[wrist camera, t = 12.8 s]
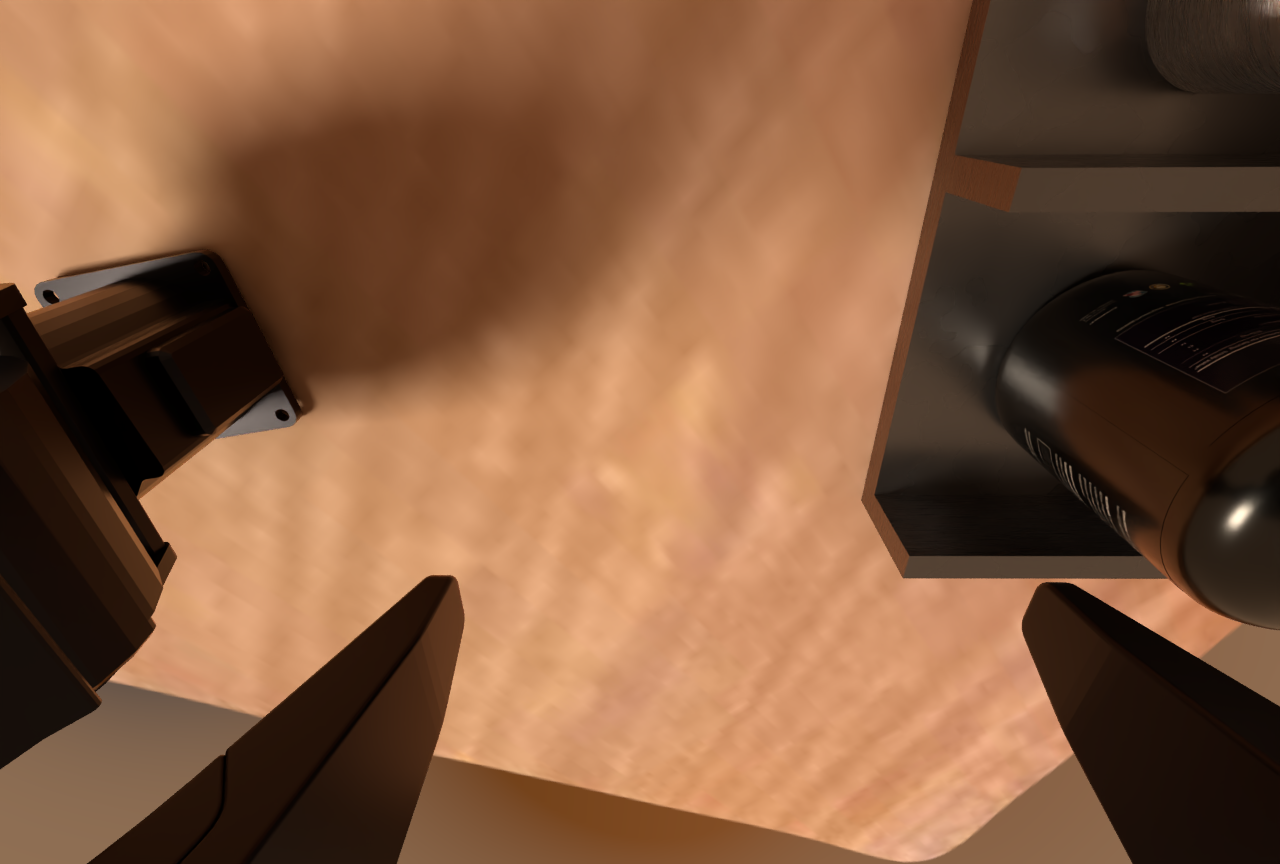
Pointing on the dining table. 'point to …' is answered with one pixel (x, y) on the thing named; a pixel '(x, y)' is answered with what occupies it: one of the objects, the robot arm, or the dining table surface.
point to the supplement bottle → (1162, 426)
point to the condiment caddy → (1065, 250)
